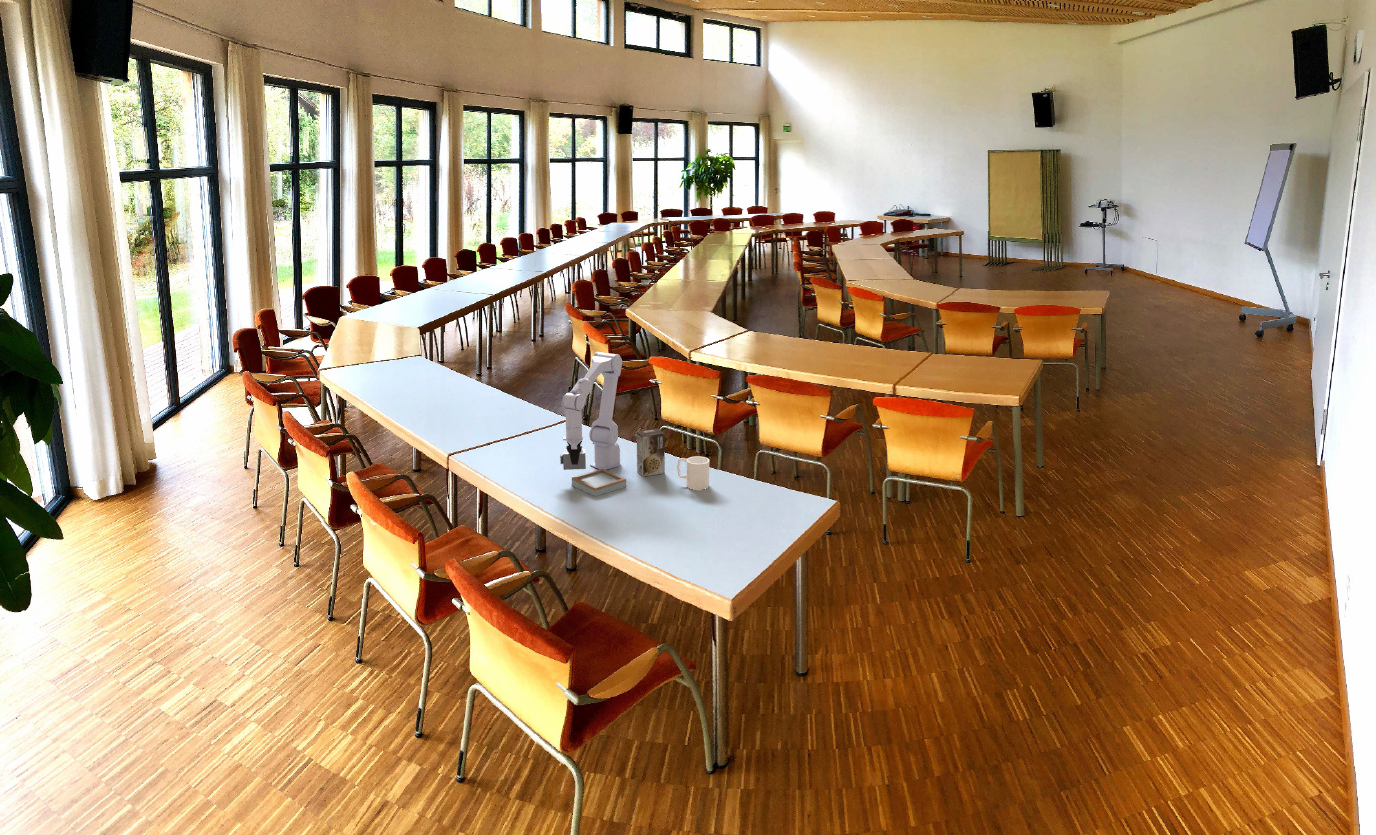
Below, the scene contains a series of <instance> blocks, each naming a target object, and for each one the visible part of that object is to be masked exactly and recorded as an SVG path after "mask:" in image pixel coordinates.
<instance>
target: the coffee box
mask: <svg viewBox="0 0 1376 835" xmlns="http://www.w3.org/2000/svg"><path fill="white" fill-rule="evenodd" d="M665 453H666V451H665V433H664V432H663V431H662V430H661V429H659V428H652V429H645V430H640V431H639V430H638V431H636V471H637V473H638V474H639V475H641V477H643V478H644V477H645V478H646V477H649V476H655V475H660V474H661V475H662V474H666V471H665V470H666V467H665V465H666V462H665V461H666V460H665V459H666V457H665Z"/></svg>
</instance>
